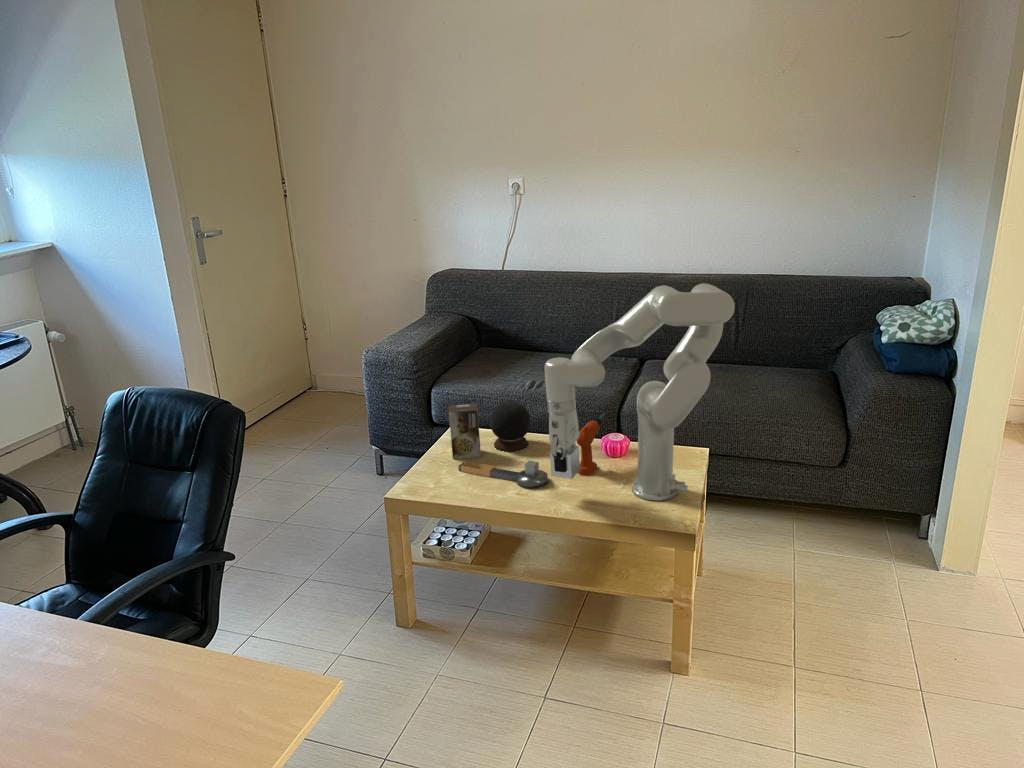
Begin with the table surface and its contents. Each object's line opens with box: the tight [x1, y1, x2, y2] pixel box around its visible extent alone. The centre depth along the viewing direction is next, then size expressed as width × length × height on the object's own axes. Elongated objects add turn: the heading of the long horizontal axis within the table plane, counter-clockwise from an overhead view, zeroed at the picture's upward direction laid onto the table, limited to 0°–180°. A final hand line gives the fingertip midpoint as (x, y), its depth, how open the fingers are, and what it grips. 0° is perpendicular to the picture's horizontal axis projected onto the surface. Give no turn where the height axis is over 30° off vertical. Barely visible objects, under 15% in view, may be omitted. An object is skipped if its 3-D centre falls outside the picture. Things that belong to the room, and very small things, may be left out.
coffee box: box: [448, 403, 482, 460], centre depth 230 cm, size 9×6×16 cm
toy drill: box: [576, 412, 607, 476], centre depth 219 cm, size 5×19×15 cm, turn 150°
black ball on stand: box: [489, 400, 532, 453], centre depth 236 cm, size 13×13×15 cm
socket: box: [549, 445, 581, 480], centre depth 198 cm, size 6×6×7 cm
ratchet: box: [458, 460, 549, 490], centre depth 215 cm, size 28×9×6 cm, turn 63°
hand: (565, 465), depth 198 cm, fingers closed on socket, 6 cm apart
